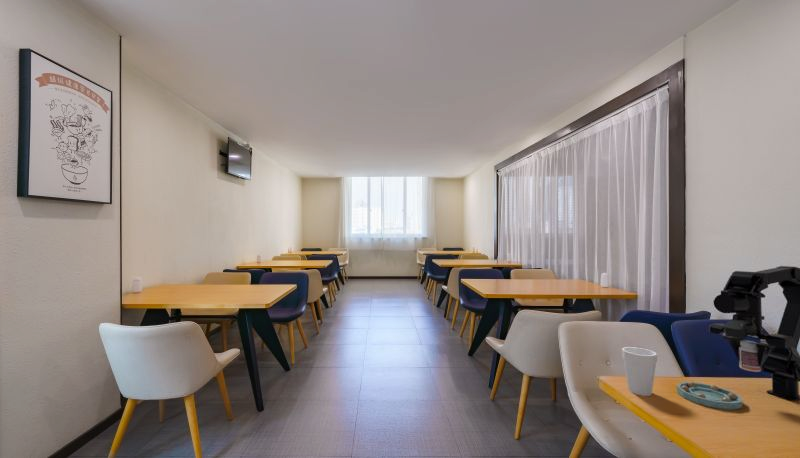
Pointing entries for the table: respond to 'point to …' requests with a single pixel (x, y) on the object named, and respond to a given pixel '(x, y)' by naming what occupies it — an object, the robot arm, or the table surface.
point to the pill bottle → (749, 356)
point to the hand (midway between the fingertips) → (749, 362)
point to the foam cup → (639, 369)
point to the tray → (709, 395)
